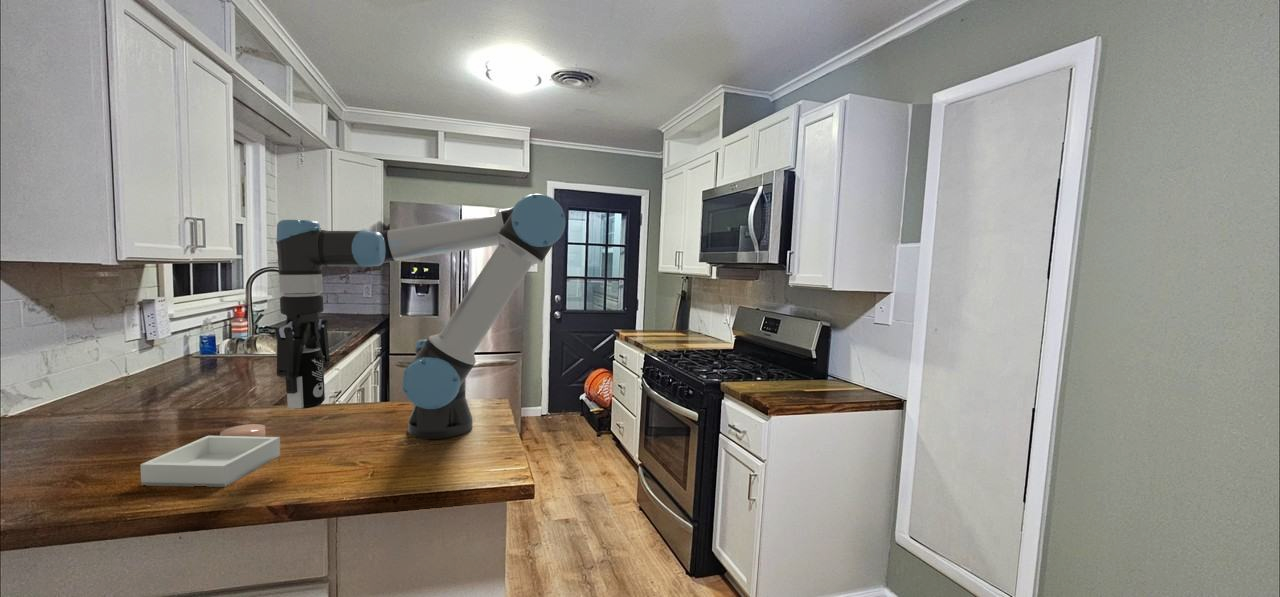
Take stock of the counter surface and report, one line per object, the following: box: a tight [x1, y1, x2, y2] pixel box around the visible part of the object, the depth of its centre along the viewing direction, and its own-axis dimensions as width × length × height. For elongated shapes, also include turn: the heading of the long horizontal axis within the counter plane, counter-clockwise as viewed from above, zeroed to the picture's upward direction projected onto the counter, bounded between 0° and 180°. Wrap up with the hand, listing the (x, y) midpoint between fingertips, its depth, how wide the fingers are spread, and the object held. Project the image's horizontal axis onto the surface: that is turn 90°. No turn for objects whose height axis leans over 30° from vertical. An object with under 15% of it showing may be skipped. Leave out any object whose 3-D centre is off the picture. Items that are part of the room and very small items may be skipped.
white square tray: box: [139, 435, 281, 488], centre depth 100 cm, size 15×15×4 cm
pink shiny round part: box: [219, 423, 266, 437], centre depth 114 cm, size 8×8×3 cm
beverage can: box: [293, 346, 326, 410], centre depth 106 cm, size 7×7×12 cm
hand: (306, 402), depth 107 cm, fingers closed on beverage can, 7 cm apart
